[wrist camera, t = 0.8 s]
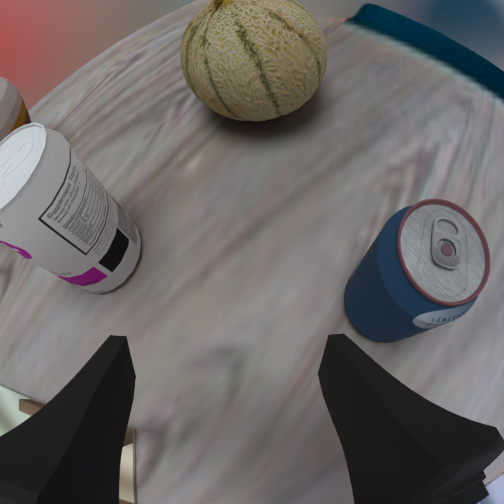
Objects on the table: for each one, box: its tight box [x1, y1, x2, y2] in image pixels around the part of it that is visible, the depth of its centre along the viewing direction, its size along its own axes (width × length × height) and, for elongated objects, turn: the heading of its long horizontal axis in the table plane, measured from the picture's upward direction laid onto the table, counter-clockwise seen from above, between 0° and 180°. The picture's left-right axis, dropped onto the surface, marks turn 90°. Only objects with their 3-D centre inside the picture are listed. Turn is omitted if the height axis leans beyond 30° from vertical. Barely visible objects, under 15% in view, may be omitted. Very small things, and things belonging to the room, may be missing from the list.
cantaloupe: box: [181, 0, 327, 121], centre depth 27 cm, size 15×15×15 cm
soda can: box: [344, 199, 490, 343], centre depth 19 cm, size 7×7×12 cm
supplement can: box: [0, 123, 141, 294], centre depth 21 cm, size 8×8×15 cm
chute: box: [0, 385, 136, 504], centre depth 20 cm, size 9×23×2 cm, turn 87°
